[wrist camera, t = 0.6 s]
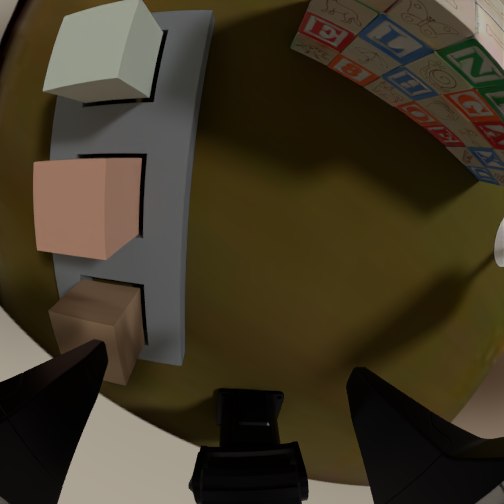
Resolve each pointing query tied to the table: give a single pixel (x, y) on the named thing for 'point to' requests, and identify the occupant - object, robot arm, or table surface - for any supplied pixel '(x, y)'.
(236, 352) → the table surface
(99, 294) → the walnut key
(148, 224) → the key board
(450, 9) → the stack of blocks
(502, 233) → the champagne flute
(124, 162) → the salmon pink cube
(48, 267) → the table surface
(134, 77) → the pale green cube
